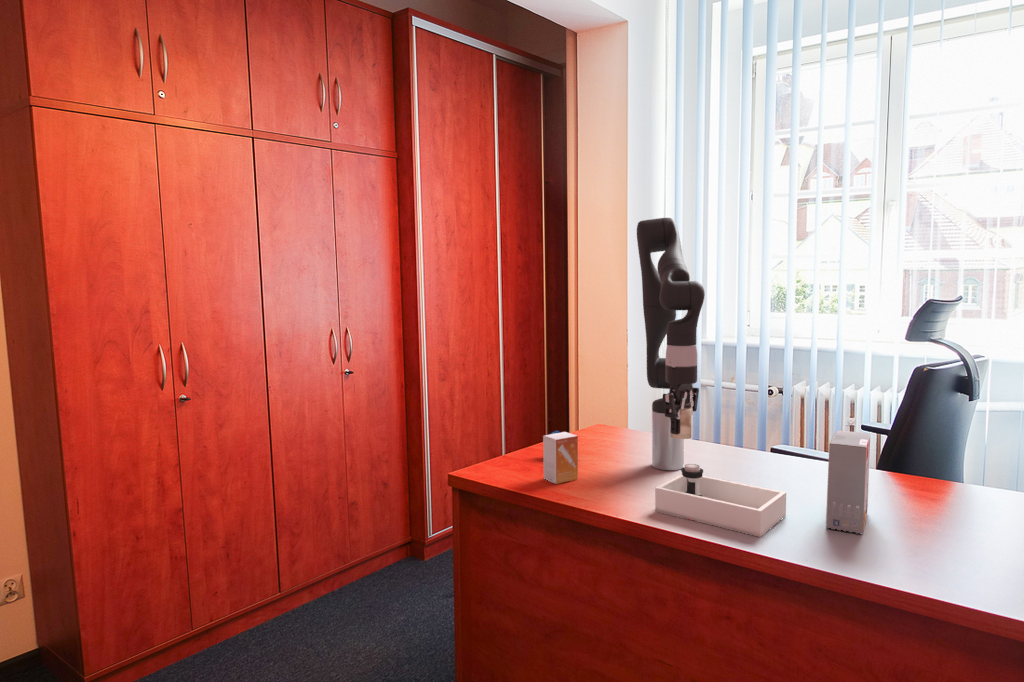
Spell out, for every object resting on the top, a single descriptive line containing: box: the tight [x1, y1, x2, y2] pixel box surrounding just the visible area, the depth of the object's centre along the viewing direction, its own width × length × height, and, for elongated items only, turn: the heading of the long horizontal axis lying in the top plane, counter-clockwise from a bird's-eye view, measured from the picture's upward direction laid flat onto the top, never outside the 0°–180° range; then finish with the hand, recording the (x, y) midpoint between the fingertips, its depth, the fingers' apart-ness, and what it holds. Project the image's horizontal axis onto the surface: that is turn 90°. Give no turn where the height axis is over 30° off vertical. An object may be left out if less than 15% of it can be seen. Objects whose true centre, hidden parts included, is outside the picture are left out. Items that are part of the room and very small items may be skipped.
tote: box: [654, 473, 787, 538], centre depth 157 cm, size 16×26×6 cm, turn 48°
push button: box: [680, 463, 704, 497], centre depth 161 cm, size 7×5×10 cm
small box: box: [542, 431, 579, 485], centre depth 187 cm, size 8×6×13 cm
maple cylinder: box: [670, 407, 693, 440], centre depth 159 cm, size 5×5×7 cm
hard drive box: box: [825, 429, 871, 534], centre depth 150 cm, size 16×8×20 cm, turn 148°
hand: (681, 431), depth 159 cm, fingers closed on maple cylinder, 5 cm apart
